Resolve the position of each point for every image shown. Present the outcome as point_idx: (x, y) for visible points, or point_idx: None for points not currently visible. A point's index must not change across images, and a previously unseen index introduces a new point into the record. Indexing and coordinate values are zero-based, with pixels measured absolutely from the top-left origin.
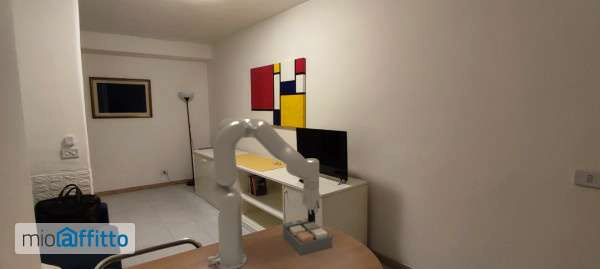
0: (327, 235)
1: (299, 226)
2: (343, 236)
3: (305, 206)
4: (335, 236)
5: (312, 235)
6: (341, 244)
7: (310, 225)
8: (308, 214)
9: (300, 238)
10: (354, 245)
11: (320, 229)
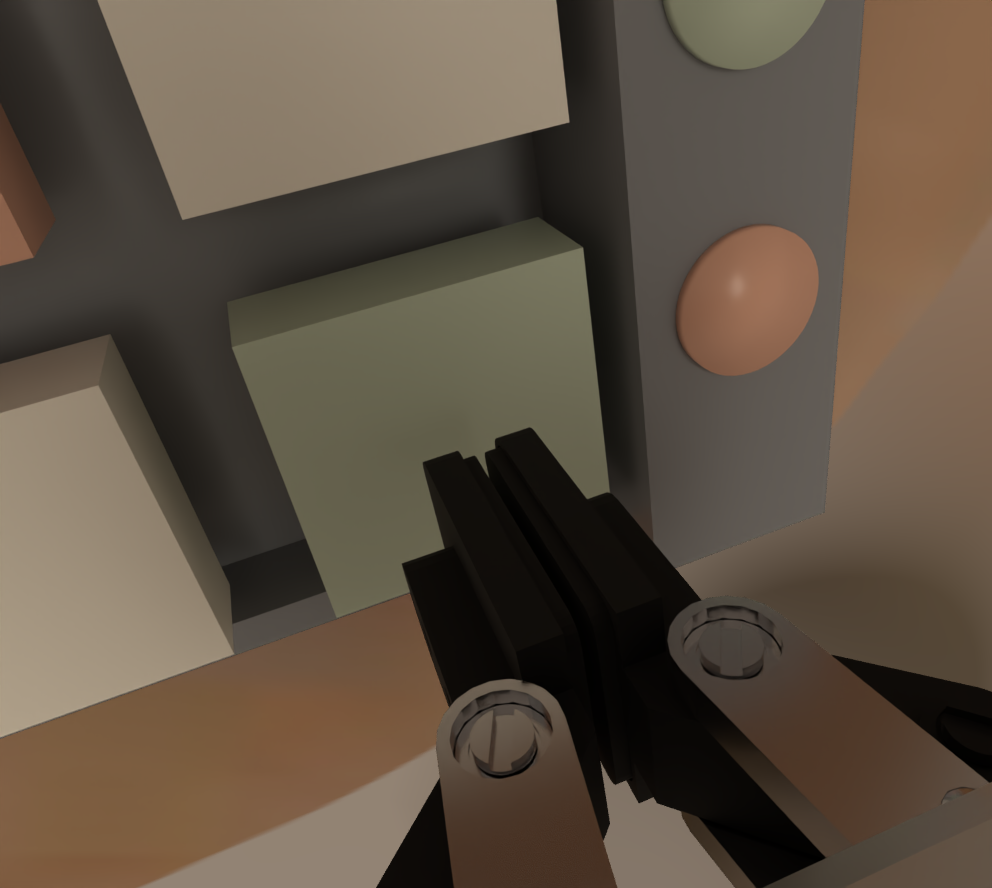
0: None
1: (471, 69)
2: (336, 773)
3: (980, 846)
4: (362, 684)
5: (12, 364)
6: (71, 740)
7: (448, 425)
8: (599, 589)
9: None
10: (24, 880)
11: (137, 634)
